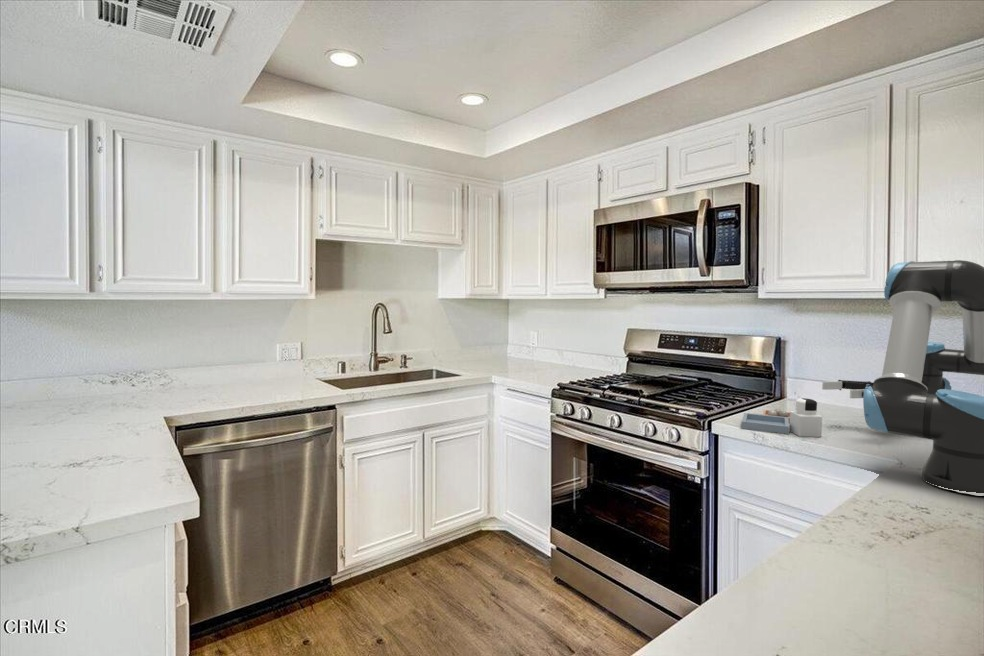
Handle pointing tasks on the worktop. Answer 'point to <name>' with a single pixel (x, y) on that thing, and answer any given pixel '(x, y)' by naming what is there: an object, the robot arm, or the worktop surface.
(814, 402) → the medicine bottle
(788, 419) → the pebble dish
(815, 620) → the worktop surface
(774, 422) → the grey bin
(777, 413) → the pebble
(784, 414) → the pebble
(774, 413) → the pebble
